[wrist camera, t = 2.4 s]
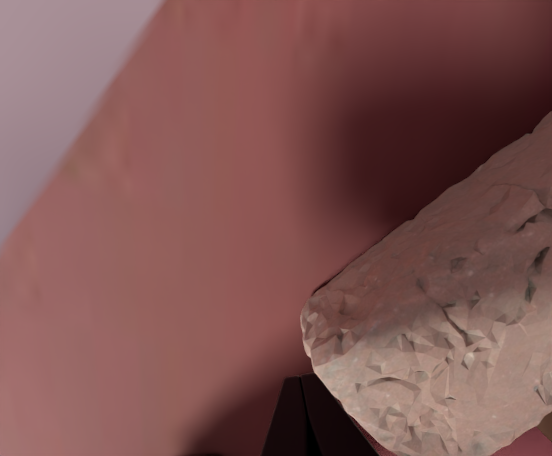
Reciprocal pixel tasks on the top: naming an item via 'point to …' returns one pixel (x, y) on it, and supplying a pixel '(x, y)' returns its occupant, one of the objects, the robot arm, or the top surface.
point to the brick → (449, 315)
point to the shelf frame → (546, 426)
